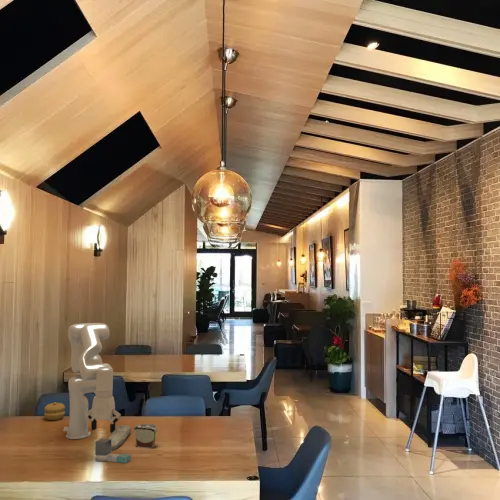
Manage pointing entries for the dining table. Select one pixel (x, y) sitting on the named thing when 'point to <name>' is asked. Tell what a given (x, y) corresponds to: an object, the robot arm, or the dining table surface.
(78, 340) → the robot arm
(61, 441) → the dining table surface
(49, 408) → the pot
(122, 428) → the elongated rock
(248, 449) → the dining table surface
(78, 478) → the dining table surface
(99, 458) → the ratchet
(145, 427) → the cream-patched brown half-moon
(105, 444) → the brushed metal cube
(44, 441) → the dining table surface
